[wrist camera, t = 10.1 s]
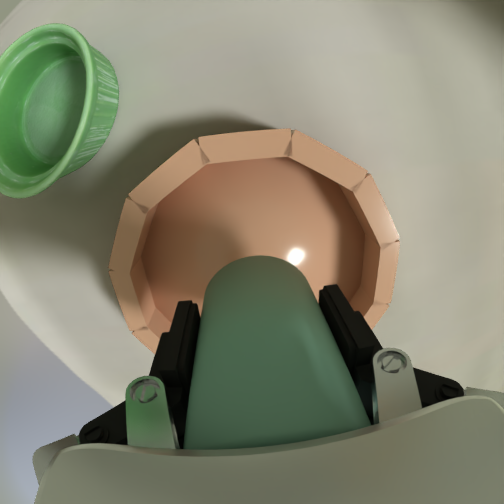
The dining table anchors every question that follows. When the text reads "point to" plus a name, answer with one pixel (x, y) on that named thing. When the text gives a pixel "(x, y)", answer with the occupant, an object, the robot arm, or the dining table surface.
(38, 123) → the ramekin
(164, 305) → the round dish
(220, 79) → the dining table surface
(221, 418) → the teal tapered rounded piece
